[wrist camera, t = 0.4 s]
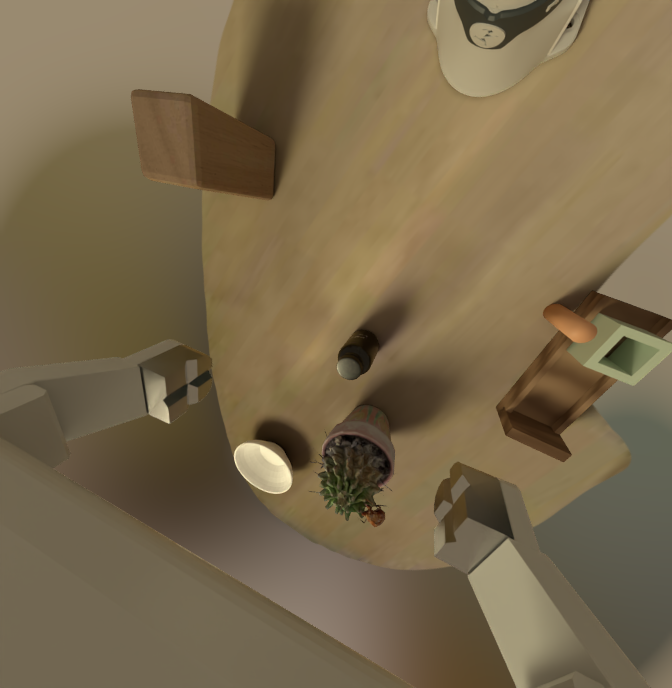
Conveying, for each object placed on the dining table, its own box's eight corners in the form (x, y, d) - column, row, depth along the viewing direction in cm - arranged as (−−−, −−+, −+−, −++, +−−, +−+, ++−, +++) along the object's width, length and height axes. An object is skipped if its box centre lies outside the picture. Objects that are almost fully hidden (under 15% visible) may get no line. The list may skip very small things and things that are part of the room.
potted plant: (318, 401, 69) (266, 480, 48) (386, 382, 60) (360, 469, 39) (348, 454, 73) (313, 549, 51) (417, 443, 64) (408, 553, 43)
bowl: (297, 484, 86) (287, 503, 80) (245, 459, 90) (232, 475, 84) (307, 443, 77) (296, 461, 71) (249, 417, 81) (235, 432, 75)
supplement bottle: (364, 322, 56) (348, 344, 46) (386, 345, 57) (375, 372, 46) (343, 341, 60) (324, 365, 49) (364, 362, 60) (349, 391, 50)
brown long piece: (592, 290, 42) (625, 304, 34) (660, 315, 40) (711, 335, 33) (495, 407, 54) (505, 435, 47) (545, 429, 53) (563, 462, 45)
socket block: (597, 312, 41) (621, 324, 36) (646, 330, 40) (678, 346, 34) (565, 349, 44) (582, 365, 39) (609, 366, 43) (633, 386, 38)
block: (232, 193, 55) (139, 178, 37) (231, 133, 50) (125, 85, 33) (275, 201, 52) (197, 189, 35) (278, 139, 48) (190, 91, 31)
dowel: (550, 300, 44) (579, 319, 35) (569, 307, 44) (603, 327, 35) (539, 316, 45) (563, 337, 37) (556, 323, 45) (586, 346, 36)
